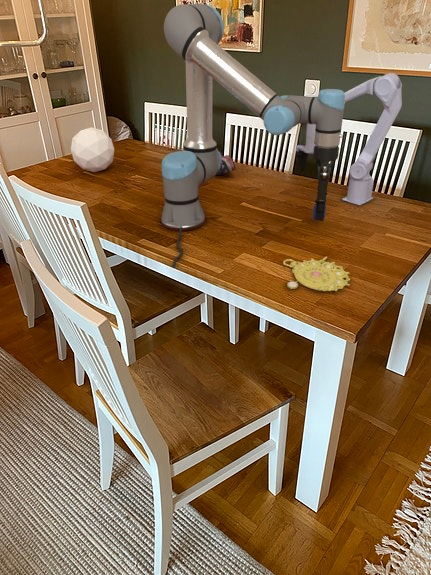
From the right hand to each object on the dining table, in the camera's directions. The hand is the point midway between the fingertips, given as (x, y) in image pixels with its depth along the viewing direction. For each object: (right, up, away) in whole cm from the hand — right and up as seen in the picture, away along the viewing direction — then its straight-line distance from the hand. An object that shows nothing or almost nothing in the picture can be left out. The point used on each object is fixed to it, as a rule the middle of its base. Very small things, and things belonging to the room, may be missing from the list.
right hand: (310, 172), depth 173 cm
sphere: (-94, +10, +36) cm, 101 cm away
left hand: (-3, -22, -27) cm, 35 cm away
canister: (-3, -22, -27) cm, 35 cm away
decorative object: (-9, -42, -50) cm, 65 cm away
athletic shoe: (-37, +7, +28) cm, 47 cm away
